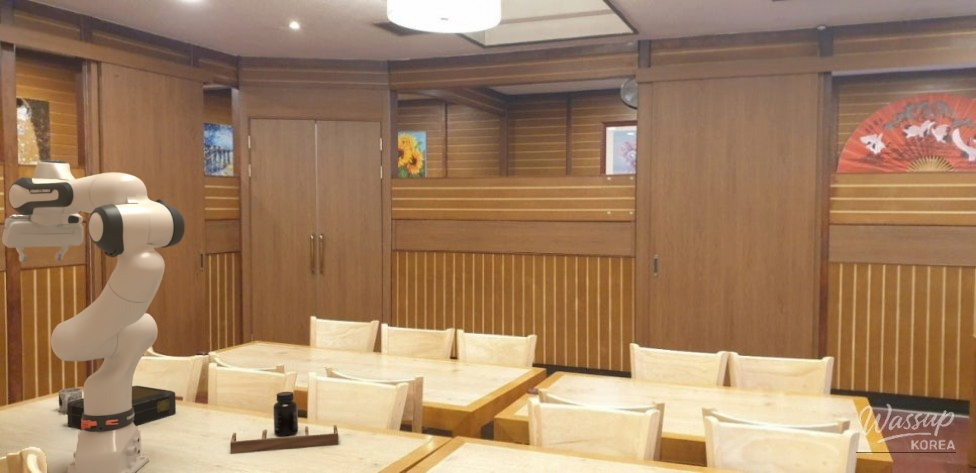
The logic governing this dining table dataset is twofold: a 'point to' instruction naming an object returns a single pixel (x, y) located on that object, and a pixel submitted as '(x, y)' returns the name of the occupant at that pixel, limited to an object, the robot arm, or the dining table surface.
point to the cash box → (134, 406)
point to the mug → (68, 397)
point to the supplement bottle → (285, 415)
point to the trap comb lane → (283, 442)
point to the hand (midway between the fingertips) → (41, 260)
